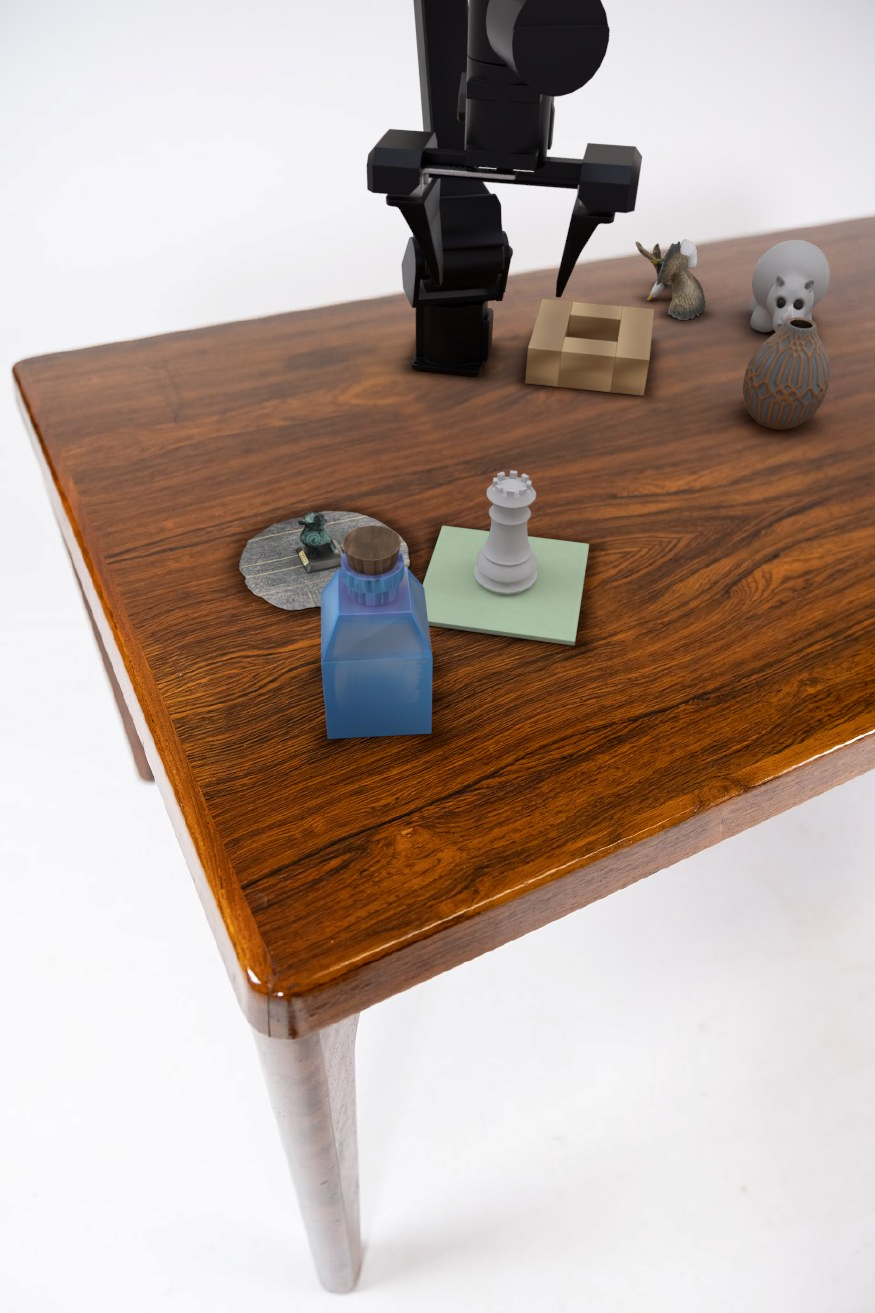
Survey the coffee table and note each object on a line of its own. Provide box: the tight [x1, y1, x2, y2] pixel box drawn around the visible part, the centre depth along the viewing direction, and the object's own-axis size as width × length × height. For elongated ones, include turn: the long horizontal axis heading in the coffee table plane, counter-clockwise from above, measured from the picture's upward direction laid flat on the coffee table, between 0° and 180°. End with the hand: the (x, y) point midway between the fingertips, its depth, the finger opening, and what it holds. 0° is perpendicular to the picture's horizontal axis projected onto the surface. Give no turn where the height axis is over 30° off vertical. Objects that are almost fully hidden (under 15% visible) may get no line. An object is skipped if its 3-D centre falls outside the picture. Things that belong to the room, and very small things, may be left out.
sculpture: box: [238, 510, 411, 611], centre depth 73 cm, size 12×9×8 cm
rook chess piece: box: [474, 470, 537, 595], centre depth 68 cm, size 4×4×8 cm
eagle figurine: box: [635, 238, 706, 321], centre depth 105 cm, size 8×7×9 cm
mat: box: [421, 525, 590, 647], centre depth 71 cm, size 11×11×1 cm
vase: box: [742, 317, 831, 431], centre depth 86 cm, size 7×7×9 cm
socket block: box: [524, 298, 655, 397], centre depth 95 cm, size 11×11×4 cm
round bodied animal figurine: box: [749, 239, 831, 333], centre depth 98 cm, size 7×12×8 cm, turn 163°
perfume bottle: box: [320, 525, 434, 740], centre depth 59 cm, size 6×6×12 cm
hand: (498, 289), depth 77 cm, fingers open, 9 cm apart
